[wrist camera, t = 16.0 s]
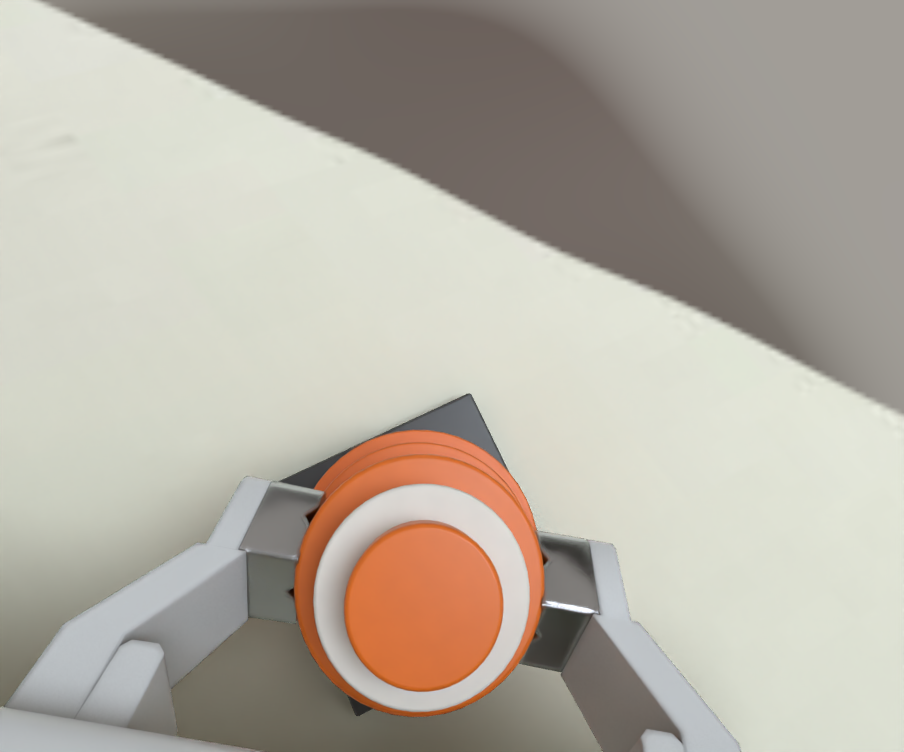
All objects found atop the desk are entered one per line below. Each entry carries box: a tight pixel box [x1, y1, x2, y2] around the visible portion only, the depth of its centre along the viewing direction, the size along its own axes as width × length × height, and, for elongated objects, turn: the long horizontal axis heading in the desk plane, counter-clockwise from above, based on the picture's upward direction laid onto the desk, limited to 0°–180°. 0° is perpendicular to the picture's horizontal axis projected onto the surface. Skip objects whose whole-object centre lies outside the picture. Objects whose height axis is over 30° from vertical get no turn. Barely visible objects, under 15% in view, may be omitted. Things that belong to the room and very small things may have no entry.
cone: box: [279, 394, 545, 717], centre depth 11 cm, size 6×6×8 cm
